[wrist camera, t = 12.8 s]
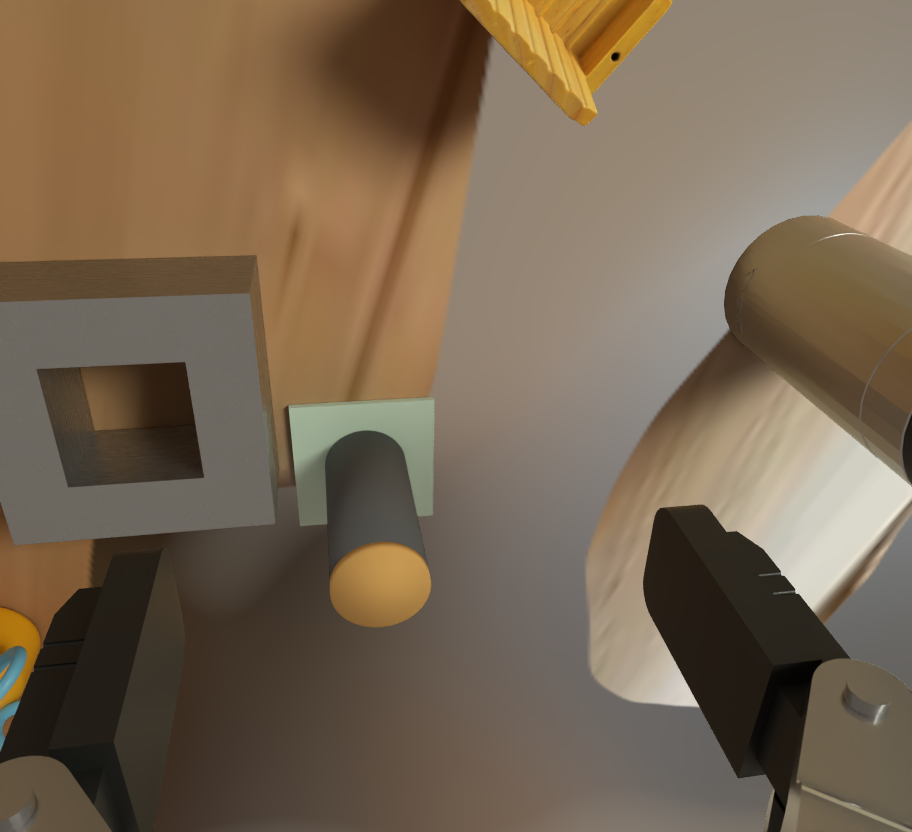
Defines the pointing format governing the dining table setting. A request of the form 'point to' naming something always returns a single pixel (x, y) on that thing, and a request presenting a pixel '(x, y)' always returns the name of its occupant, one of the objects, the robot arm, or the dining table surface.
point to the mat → (332, 421)
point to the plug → (373, 532)
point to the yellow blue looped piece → (15, 660)
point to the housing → (142, 449)
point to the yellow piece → (568, 41)
